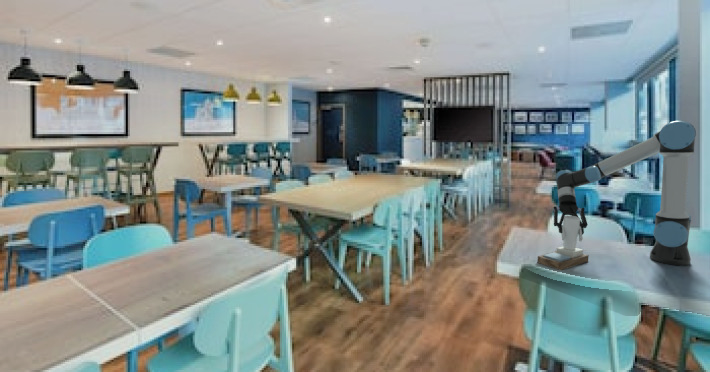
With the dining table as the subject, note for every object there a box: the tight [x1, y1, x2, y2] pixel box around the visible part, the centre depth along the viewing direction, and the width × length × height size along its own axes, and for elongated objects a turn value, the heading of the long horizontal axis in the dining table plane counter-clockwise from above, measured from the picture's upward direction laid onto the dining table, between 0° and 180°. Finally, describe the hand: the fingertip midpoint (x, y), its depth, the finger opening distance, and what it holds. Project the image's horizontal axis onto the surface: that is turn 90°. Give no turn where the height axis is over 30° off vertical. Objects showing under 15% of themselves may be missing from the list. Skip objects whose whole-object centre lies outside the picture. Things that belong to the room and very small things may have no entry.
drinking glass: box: [562, 215, 581, 250], centre depth 190 cm, size 7×7×15 cm
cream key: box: [556, 246, 584, 258], centre depth 191 cm, size 8×8×3 cm
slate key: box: [543, 251, 571, 262], centre depth 186 cm, size 8×8×3 cm
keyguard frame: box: [537, 250, 589, 271], centre depth 189 cm, size 12×22×3 cm, turn 122°
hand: (572, 239), depth 187 cm, fingers closed on drinking glass, 6 cm apart
